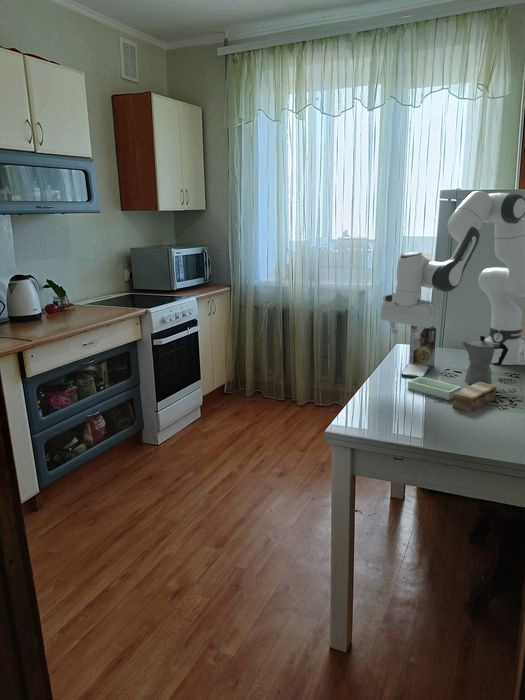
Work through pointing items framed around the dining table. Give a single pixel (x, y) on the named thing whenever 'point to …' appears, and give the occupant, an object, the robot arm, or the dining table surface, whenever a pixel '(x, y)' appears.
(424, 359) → the coffee box
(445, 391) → the tray
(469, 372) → the coffeepot
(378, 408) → the dining table surface
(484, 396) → the walnut shelf
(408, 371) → the smartphone
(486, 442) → the dining table surface
